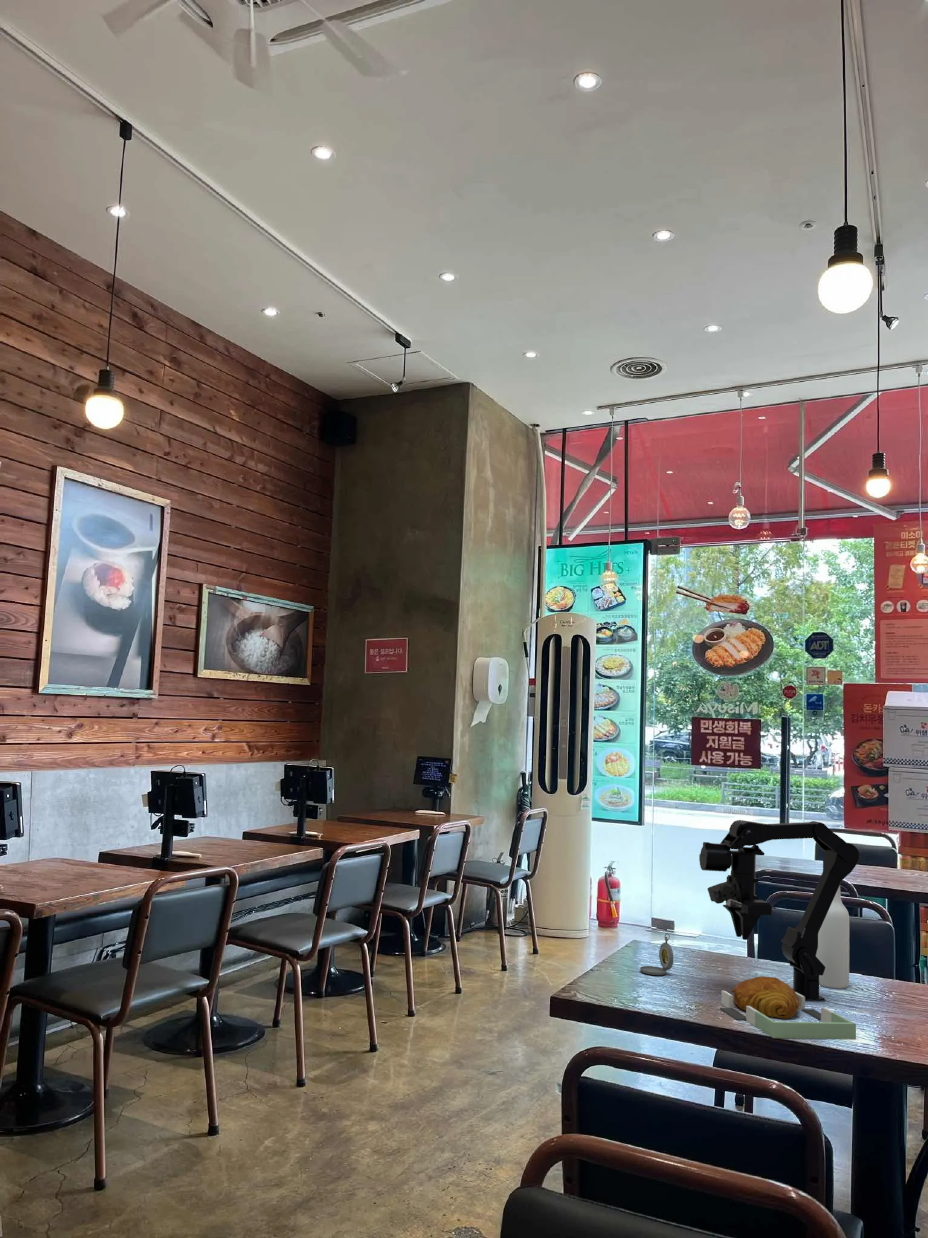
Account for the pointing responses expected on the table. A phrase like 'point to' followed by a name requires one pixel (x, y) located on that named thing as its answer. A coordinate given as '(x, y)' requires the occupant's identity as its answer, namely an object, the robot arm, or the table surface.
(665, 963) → the pocket watch
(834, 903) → the white bottle
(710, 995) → the table surface
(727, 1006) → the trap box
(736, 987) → the croissant
